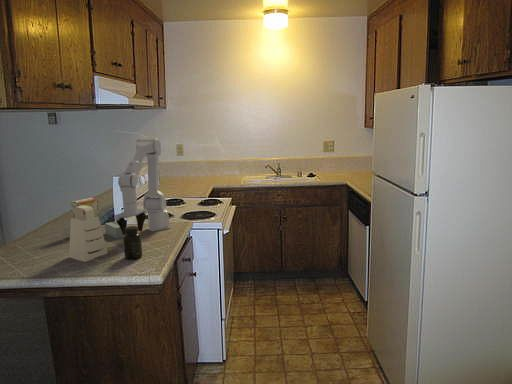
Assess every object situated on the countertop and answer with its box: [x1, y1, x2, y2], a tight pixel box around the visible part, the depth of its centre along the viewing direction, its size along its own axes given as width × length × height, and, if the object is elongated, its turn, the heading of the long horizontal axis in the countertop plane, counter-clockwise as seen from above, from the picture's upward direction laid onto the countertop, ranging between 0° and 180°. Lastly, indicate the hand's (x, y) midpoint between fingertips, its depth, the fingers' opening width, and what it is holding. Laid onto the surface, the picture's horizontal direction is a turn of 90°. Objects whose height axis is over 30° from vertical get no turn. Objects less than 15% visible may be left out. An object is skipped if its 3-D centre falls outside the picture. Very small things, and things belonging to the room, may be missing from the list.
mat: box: [103, 233, 151, 248], centre depth 195 cm, size 13×26×1 cm, turn 42°
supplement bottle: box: [123, 225, 143, 261], centre depth 168 cm, size 7×7×12 cm
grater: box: [68, 205, 108, 263], centre depth 171 cm, size 10×10×20 cm
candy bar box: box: [70, 197, 100, 230], centre depth 203 cm, size 11×5×16 cm, turn 149°
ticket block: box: [104, 221, 123, 239], centre depth 199 cm, size 5×12×5 cm, turn 41°
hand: (132, 232), depth 186 cm, fingers open, 7 cm apart
